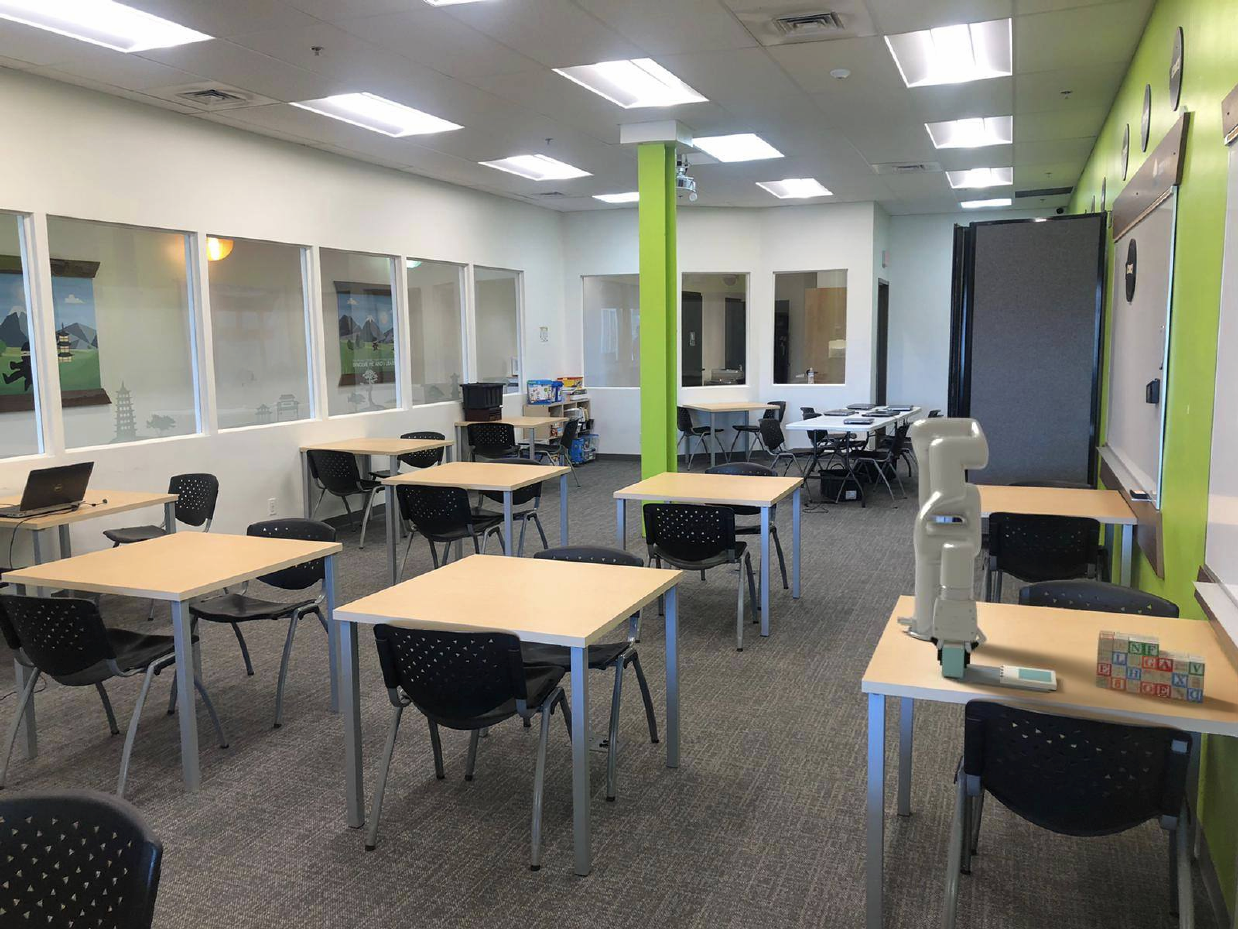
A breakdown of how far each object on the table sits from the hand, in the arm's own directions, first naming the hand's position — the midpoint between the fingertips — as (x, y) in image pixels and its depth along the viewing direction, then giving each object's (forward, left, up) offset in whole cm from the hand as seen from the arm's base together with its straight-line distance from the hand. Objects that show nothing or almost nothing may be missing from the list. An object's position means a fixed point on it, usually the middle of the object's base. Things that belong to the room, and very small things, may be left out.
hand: (953, 664), depth 227 cm
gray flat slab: (+12, 0, -2) cm, 12 cm away
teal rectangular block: (0, 0, -2) cm, 2 cm away
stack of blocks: (+42, +4, -2) cm, 42 cm away
